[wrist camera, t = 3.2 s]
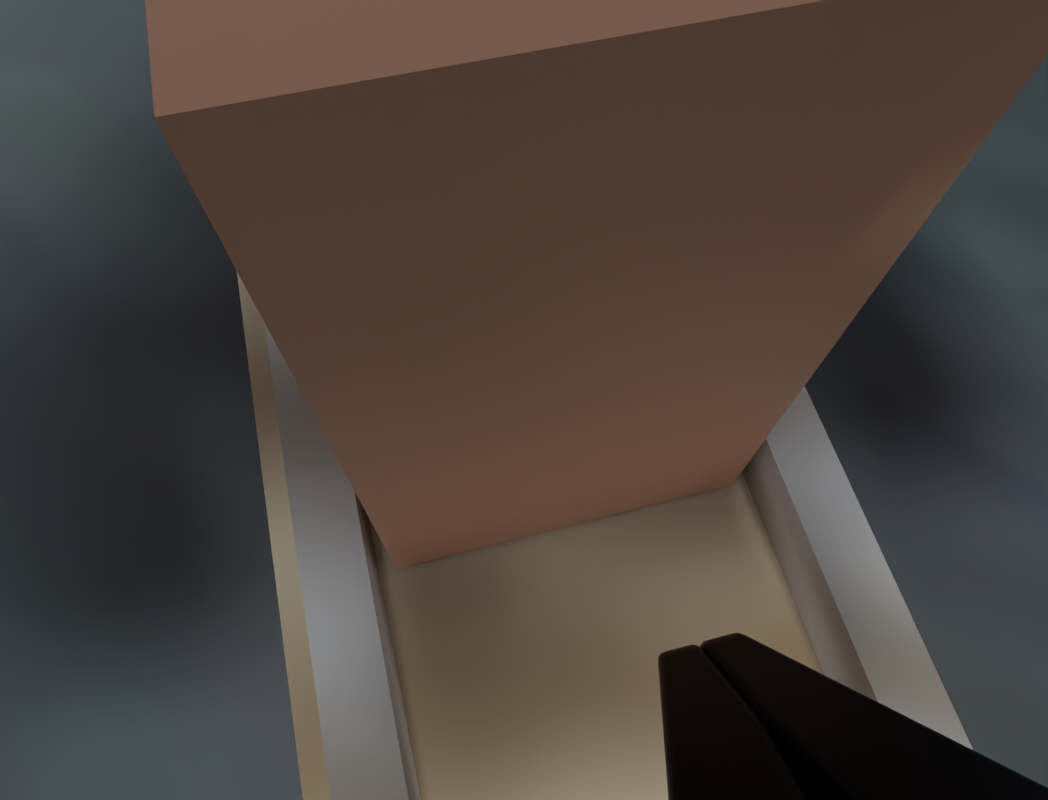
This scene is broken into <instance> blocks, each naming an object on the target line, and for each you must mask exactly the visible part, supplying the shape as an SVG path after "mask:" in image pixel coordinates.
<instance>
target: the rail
mask: <svg viewBox="0 0 1048 800" xmlns="http://www.w3.org/2000/svg"><path fill="white" fill-rule="evenodd" d="M237 278H238V286H239V294H240V302H241V310H242V318H243V326H244V334H245V342H246V350H247V358H248V366H249V374H250V382H251V390H252V398H253V406H254V413H255V421H256V429H257V437H258V445H259V453H260V461H261V469H262V477H263V485H264V493H265V501H266V509H267V517H268V525H269V533H270V541H271V549H272V557H273V565H274V573H275V581H276V589H277V597H278V605H279V613H280V621H281V629H282V637H283V645H284V653H285V660H286V668H287V676H288V684H289V692H290V700H291V708H292V716H293V724H294V732H295V740H296V748H297V756H298V764H299V772H300V780H301V788H302V796H303V800H668V789H667V775H666V762H665V749H664V735H663V722H662V709H661V696H660V682H659V669H658V657H659V655H660V654H661V653H662V652H665V651H669V650H672V649H676V648H680V647H683V646H687V645H692V644H693V645H697V646H699V647H700V645H701V644H702V643H703V642H704V641H706V640H709V639H713V638H717V637H720V636H724V635H728V634H731V633H741V634H744V635H746V636H748V637H750V638H752V639H754V640H756V641H758V642H760V643H762V644H764V645H766V646H768V647H770V648H772V649H774V650H776V651H778V652H780V653H782V654H784V655H786V656H788V657H790V658H792V659H794V660H796V661H798V662H800V663H802V664H804V665H806V666H808V667H810V668H812V669H814V670H816V671H817V672H819V673H821V674H823V675H825V676H827V677H829V678H831V679H833V680H835V681H837V682H839V683H841V684H843V685H845V686H847V687H849V688H851V689H853V690H855V691H857V692H859V693H861V694H863V695H865V696H867V697H869V698H871V699H873V700H875V701H877V702H879V703H881V704H883V705H885V706H887V707H889V708H891V709H893V710H895V711H897V712H899V713H900V714H902V715H904V716H906V717H908V718H910V719H912V720H914V721H916V722H918V723H920V724H922V725H924V726H926V727H928V728H930V729H932V730H934V731H936V732H938V733H940V734H942V735H944V736H946V737H948V738H950V739H952V740H954V741H956V742H958V743H960V744H962V745H964V746H966V747H968V748H970V749H972V750H973V748H972V746H971V744H970V742H969V740H968V738H967V736H966V733H965V731H964V729H963V727H962V725H961V723H960V720H959V718H958V716H957V714H956V712H955V710H954V707H953V705H952V703H951V701H950V699H949V697H948V694H947V692H946V690H945V688H944V686H943V684H942V681H941V679H940V677H939V675H938V673H937V671H936V669H935V666H934V664H933V662H932V660H931V658H930V656H929V653H928V651H927V649H926V647H925V645H924V643H923V640H922V638H921V636H920V634H919V632H918V630H917V627H916V625H915V623H914V621H913V619H912V617H911V614H910V612H909V610H908V608H907V606H906V604H905V602H904V599H903V597H902V595H901V593H900V591H899V589H898V586H897V584H896V582H895V580H894V578H893V576H892V573H891V571H890V569H889V567H888V565H887V563H886V560H885V558H884V556H883V554H882V552H881V550H880V548H879V545H878V543H877V541H876V539H875V537H874V535H873V532H872V530H871V528H870V526H869V524H868V522H867V519H866V517H865V515H864V513H863V511H862V509H861V506H860V504H859V502H858V500H857V498H856V496H855V493H854V491H853V489H852V487H851V485H850V483H849V481H848V478H847V476H846V474H845V472H844V470H843V468H842V465H841V463H840V461H839V459H838V457H837V455H836V452H835V450H834V448H833V446H832V444H831V442H830V439H829V437H828V435H827V433H826V431H825V429H824V426H823V424H822V422H821V420H820V418H819V416H818V414H817V411H816V409H815V407H814V405H813V403H812V401H811V398H810V396H809V394H808V392H807V390H806V388H805V386H804V387H803V389H802V390H801V391H800V393H799V394H798V395H797V397H796V398H795V400H794V401H793V402H792V404H791V405H790V406H789V408H788V409H787V411H786V412H785V413H784V415H783V416H782V417H781V419H780V420H779V421H778V423H777V424H776V426H775V427H774V428H773V430H772V431H771V432H770V434H769V435H768V436H767V438H766V439H765V441H764V442H763V443H762V445H761V446H760V447H759V449H758V450H757V452H756V453H755V454H754V456H753V457H752V458H751V460H750V461H749V462H748V464H747V465H746V467H745V468H744V469H743V471H742V472H741V473H740V475H739V476H738V478H737V479H736V480H735V482H734V483H733V484H732V485H730V486H726V487H722V488H718V489H714V490H710V491H706V492H702V493H698V494H694V495H690V496H686V497H682V498H678V499H674V500H670V501H666V502H662V503H658V504H654V505H650V506H646V507H642V508H638V509H634V510H630V511H626V512H622V513H618V514H614V515H610V516H606V517H602V518H598V519H594V520H590V521H586V522H582V523H578V524H574V525H570V526H566V527H562V528H558V529H554V530H550V531H546V532H542V533H538V534H534V535H530V536H526V537H522V538H518V539H514V540H510V541H506V542H502V543H498V544H494V545H490V546H486V547H482V548H478V549H474V550H470V551H466V552H462V553H458V554H454V555H450V556H446V557H442V558H438V559H434V560H430V561H426V562H423V563H419V564H415V565H411V566H407V567H403V568H399V569H396V567H395V565H394V563H393V562H392V560H391V558H390V556H389V554H388V552H387V550H386V548H385V547H384V545H383V543H382V541H381V539H380V537H379V535H378V534H377V532H376V530H375V528H374V526H373V524H372V522H371V520H370V519H369V517H368V515H367V513H366V511H365V509H364V507H363V506H362V504H361V502H360V500H359V498H358V496H357V494H356V492H355V491H354V489H353V487H352V485H351V483H350V481H349V479H348V478H347V476H346V474H345V472H344V470H343V468H342V466H341V465H340V463H339V461H338V459H337V457H336V455H335V453H334V451H333V450H332V448H331V446H330V444H329V442H328V440H327V438H326V437H325V435H324V433H323V431H322V429H321V427H320V425H319V423H318V422H317V420H316V418H315V416H314V414H313V412H312V410H311V409H310V407H309V405H308V403H307V401H306V399H305V397H304V395H303V394H302V392H301V390H300V388H299V386H298V384H297V382H296V381H295V379H294V377H293V375H292V373H291V371H290V369H289V368H288V366H287V364H286V362H285V360H284V358H283V356H282V354H281V353H280V351H279V349H278V347H277V345H276V343H275V341H274V340H273V338H272V336H271V334H270V332H269V330H268V328H267V326H266V325H265V323H264V321H263V319H262V317H261V315H260V313H259V312H258V310H257V308H256V306H255V304H254V302H253V300H252V298H251V297H250V295H249V293H248V291H247V289H246V287H245V285H244V284H243V282H242V280H241V278H240V276H239V274H238V272H237Z"/></svg>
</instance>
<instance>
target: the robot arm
mask: <svg viewBox="0 0 1048 800" xmlns="http://www.w3.org/2000/svg"><path fill="white" fill-rule="evenodd" d="M658 669H659V682H660V696H661V709H662V722H663V735H664V749H665V762H666V775H667V789H668V800H1048V788H1047V787H1045V786H1043V785H1041V784H1039V783H1037V782H1035V781H1033V780H1031V779H1029V778H1027V777H1025V776H1023V775H1021V774H1019V773H1017V772H1015V771H1013V770H1011V769H1009V768H1007V767H1005V766H1003V765H1001V764H999V763H997V762H995V761H993V760H991V759H989V758H987V757H985V756H983V755H982V754H980V753H978V752H976V751H974V750H972V749H970V748H968V747H966V746H964V745H962V744H960V743H958V742H956V741H954V740H952V739H950V738H948V737H946V736H944V735H942V734H940V733H938V732H936V731H934V730H932V729H930V728H928V727H926V726H924V725H922V724H920V723H918V722H916V721H914V720H912V719H910V718H908V717H906V716H904V715H902V714H900V713H899V712H897V711H895V710H893V709H891V708H889V707H887V706H885V705H883V704H881V703H879V702H877V701H875V700H873V699H871V698H869V697H867V696H865V695H863V694H861V693H859V692H857V691H855V690H853V689H851V688H849V687H847V686H845V685H843V684H841V683H839V682H837V681H835V680H833V679H831V678H829V677H827V676H825V675H823V674H821V673H819V672H817V671H816V670H814V669H812V668H810V667H808V666H806V665H804V664H802V663H800V662H798V661H796V660H794V659H792V658H790V657H788V656H786V655H784V654H782V653H780V652H778V651H776V650H774V649H772V648H770V647H768V646H766V645H764V644H762V643H760V642H758V641H756V640H754V639H752V638H750V637H748V636H746V635H744V634H741V633H731V634H728V635H724V636H720V637H717V638H713V639H709V640H706V641H704V642H703V643H702V644H701V645H700V647H699V646H697V645H693V644H692V645H687V646H683V647H680V648H676V649H672V650H669V651H665V652H662V653H661V654H660V655H659V657H658Z"/></svg>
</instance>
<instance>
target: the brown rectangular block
mask: <svg viewBox="0 0 1048 800" xmlns="http://www.w3.org/2000/svg"><path fill="white" fill-rule="evenodd" d="M145 7H146V19H147V32H148V44H149V57H150V69H151V82H152V94H153V107H154V118H155V119H156V121H157V123H158V125H159V127H160V129H161V131H162V132H163V134H164V136H165V138H166V140H167V142H168V144H169V146H170V147H171V149H172V151H173V153H174V155H175V157H176V159H177V160H178V162H179V164H180V166H181V168H182V170H183V172H184V174H185V175H186V177H187V179H188V181H189V183H190V185H191V187H192V188H193V190H194V192H195V194H196V196H197V198H198V200H199V202H200V203H201V205H202V207H203V209H204V211H205V213H206V215H207V216H208V218H209V220H210V222H211V224H212V226H213V228H214V229H215V231H216V233H217V235H218V237H219V239H220V241H221V243H222V244H223V246H224V248H225V250H226V252H227V254H228V256H229V257H230V259H231V261H232V263H233V265H234V267H235V269H236V271H237V272H238V274H239V276H240V278H241V280H242V282H243V284H244V285H245V287H246V289H247V291H248V293H249V295H250V297H251V298H252V300H253V302H254V304H255V306H256V308H257V310H258V312H259V313H260V315H261V317H262V319H263V321H264V323H265V325H266V326H267V328H268V330H269V332H270V334H271V336H272V338H273V340H274V341H275V343H276V345H277V347H278V349H279V351H280V353H281V354H282V356H283V358H284V360H285V362H286V364H287V366H288V368H289V369H290V371H291V373H292V375H293V377H294V379H295V381H296V382H297V384H298V386H299V388H300V390H301V392H302V394H303V395H304V397H305V399H306V401H307V403H308V405H309V407H310V409H311V410H312V412H313V414H314V416H315V418H316V420H317V422H318V423H319V425H320V427H321V429H322V431H323V433H324V435H325V437H326V438H327V440H328V442H329V444H330V446H331V448H332V450H333V451H334V453H335V455H336V457H337V459H338V461H339V463H340V465H341V466H342V468H343V470H344V472H345V474H346V476H347V478H348V479H349V481H350V483H351V485H352V487H353V489H354V491H355V492H356V494H357V496H358V498H359V500H360V502H361V504H362V506H363V507H364V509H365V511H366V513H367V515H368V517H369V519H370V520H371V522H372V524H373V526H374V528H375V530H376V532H377V534H378V535H379V537H380V539H381V541H382V543H383V545H384V547H385V548H386V550H387V552H388V554H389V556H390V558H391V560H392V562H393V563H394V565H395V567H396V569H399V568H403V567H407V566H411V565H415V564H419V563H423V562H426V561H430V560H434V559H438V558H442V557H446V556H450V555H454V554H458V553H462V552H466V551H470V550H474V549H478V548H482V547H486V546H490V545H494V544H498V543H502V542H506V541H510V540H514V539H518V538H522V537H526V536H530V535H534V534H538V533H542V532H546V531H550V530H554V529H558V528H562V527H566V526H570V525H574V524H578V523H582V522H586V521H590V520H594V519H598V518H602V517H606V516H610V515H614V514H618V513H622V512H626V511H630V510H634V509H638V508H642V507H646V506H650V505H654V504H658V503H662V502H666V501H670V500H674V499H678V498H682V497H686V496H690V495H694V494H698V493H702V492H706V491H710V490H714V489H718V488H722V487H726V486H730V485H732V484H733V483H734V482H735V480H736V479H737V478H738V476H739V475H740V473H741V472H742V471H743V469H744V468H745V467H746V465H747V464H748V462H749V461H750V460H751V458H752V457H753V456H754V454H755V453H756V452H757V450H758V449H759V447H760V446H761V445H762V443H763V442H764V441H765V439H766V438H767V436H768V435H769V434H770V432H771V431H772V430H773V428H774V427H775V426H776V424H777V423H778V421H779V420H780V419H781V417H782V416H783V415H784V413H785V412H786V411H787V409H788V408H789V406H790V405H791V404H792V402H793V401H794V400H795V398H796V397H797V395H798V394H799V393H800V391H801V390H802V389H803V387H804V386H805V385H806V383H807V382H808V380H809V379H810V378H811V376H812V375H813V374H814V372H815V371H816V369H817V368H818V367H819V365H820V364H821V363H822V361H823V360H824V359H825V357H826V356H827V354H828V353H829V352H830V350H831V349H832V348H833V346H834V345H835V344H836V342H837V341H838V339H839V338H840V337H841V335H842V334H843V333H844V331H845V330H846V328H847V327H848V326H849V324H850V323H851V322H852V320H853V319H854V318H855V316H856V315H857V313H858V312H859V311H860V309H861V308H862V307H863V305H864V304H865V302H866V301H867V300H868V298H869V297H870V296H871V294H872V293H873V292H874V290H875V289H876V287H877V286H878V285H879V283H880V282H881V281H882V279H883V278H884V276H885V275H886V274H887V272H888V271H889V270H890V268H891V267H892V266H893V264H894V263H895V261H896V260H897V259H898V257H899V256H900V255H901V253H902V252H903V251H904V249H905V248H906V246H907V245H908V244H909V242H910V241H911V240H912V238H913V237H914V235H915V234H916V233H917V231H918V230H919V229H920V227H921V226H922V225H923V223H924V222H925V220H926V219H927V218H928V216H929V215H930V214H931V212H932V211H933V209H934V208H935V207H936V205H937V204H938V203H939V201H940V200H941V199H942V197H943V196H944V194H945V193H946V192H947V190H948V189H949V188H950V186H951V185H952V183H953V182H954V181H955V179H956V178H957V177H958V175H959V174H960V173H961V171H962V170H963V168H964V167H965V166H966V164H967V163H968V162H969V160H970V159H971V158H972V156H973V155H974V153H975V152H976V151H977V149H978V148H979V147H980V145H981V144H982V142H983V141H984V140H985V138H986V137H987V136H988V134H989V133H990V132H991V130H992V129H993V127H994V126H995V125H996V123H997V122H998V121H999V119H1000V118H1001V116H1002V115H1003V114H1004V112H1005V111H1006V110H1007V108H1008V107H1009V106H1010V104H1011V103H1012V101H1013V100H1014V99H1015V97H1016V96H1017V95H1018V93H1019V92H1020V91H1021V89H1022V88H1023V86H1024V85H1025V84H1026V82H1027V81H1028V80H1029V78H1030V77H1031V75H1032V74H1033V73H1034V71H1035V70H1036V69H1037V67H1038V66H1039V65H1040V63H1041V62H1042V60H1043V59H1044V58H1045V56H1046V55H1047V54H1048V0H145Z"/></svg>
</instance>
